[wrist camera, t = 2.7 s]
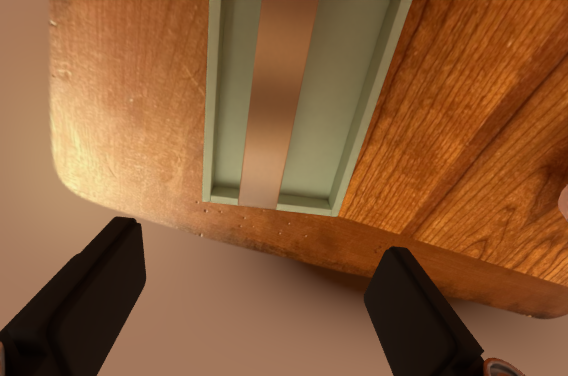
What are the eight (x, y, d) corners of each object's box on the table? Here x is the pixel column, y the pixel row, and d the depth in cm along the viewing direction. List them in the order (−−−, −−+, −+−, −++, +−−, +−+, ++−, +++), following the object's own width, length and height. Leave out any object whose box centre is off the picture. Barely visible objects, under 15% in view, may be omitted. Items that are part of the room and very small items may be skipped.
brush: (314, 186, 19) (325, 216, 16) (234, 176, 18) (227, 204, 15) (409, -161, 11) (476, -260, 8) (273, -213, 10) (279, -353, 7)
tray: (206, 188, 19) (201, 201, 17) (229, -289, 10) (222, -362, 8) (331, 204, 21) (337, 217, 19) (459, -193, 11) (494, -237, 9)
